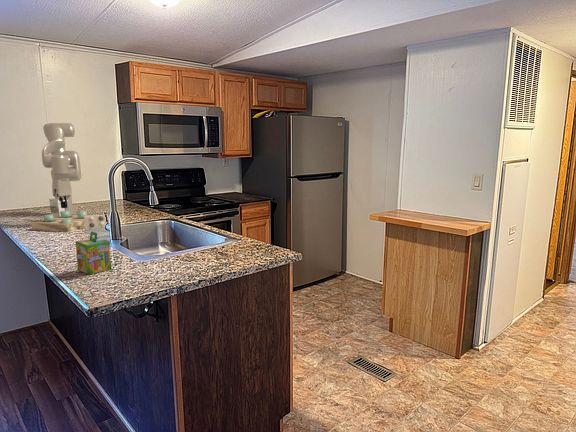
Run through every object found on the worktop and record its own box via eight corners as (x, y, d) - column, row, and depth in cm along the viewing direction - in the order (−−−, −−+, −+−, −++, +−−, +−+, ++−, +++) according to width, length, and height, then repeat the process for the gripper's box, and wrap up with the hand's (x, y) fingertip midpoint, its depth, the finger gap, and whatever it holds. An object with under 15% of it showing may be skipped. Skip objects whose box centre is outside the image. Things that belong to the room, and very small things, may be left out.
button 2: (65, 217, 245) (64, 210, 244) (71, 217, 243) (71, 210, 243) (59, 218, 240) (58, 212, 239) (65, 219, 239) (65, 212, 238)
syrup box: (66, 219, 256) (63, 196, 253) (60, 221, 250) (57, 198, 247) (57, 219, 256) (55, 196, 254) (51, 221, 251) (48, 197, 248)
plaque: (85, 228, 229) (84, 216, 228) (108, 226, 234) (107, 214, 233) (85, 228, 228) (84, 216, 226) (108, 226, 233) (107, 214, 231)
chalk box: (77, 270, 155) (73, 233, 152) (101, 265, 162) (97, 228, 159) (88, 275, 150) (84, 236, 147) (112, 269, 157) (109, 232, 154)
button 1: (49, 221, 233) (48, 214, 232) (55, 221, 232) (55, 214, 231) (42, 222, 229) (41, 215, 228) (49, 223, 227) (48, 216, 227)
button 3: (66, 225, 231) (66, 218, 230) (73, 226, 229) (73, 219, 229) (60, 227, 226) (59, 220, 225) (67, 227, 225) (66, 220, 224)
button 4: (82, 217, 241) (81, 211, 241) (88, 218, 240) (88, 211, 240) (75, 219, 237) (75, 212, 236) (82, 219, 236) (82, 213, 235)
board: (65, 221, 250) (64, 215, 249) (98, 223, 243) (98, 216, 243) (32, 229, 227) (31, 222, 226) (67, 232, 221) (67, 224, 220)
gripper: (65, 175, 245) (68, 205, 248) (45, 177, 231) (48, 209, 234) (75, 175, 243) (79, 206, 246) (55, 177, 229) (59, 210, 232)
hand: (64, 207), depth 240 cm, fingers closed
